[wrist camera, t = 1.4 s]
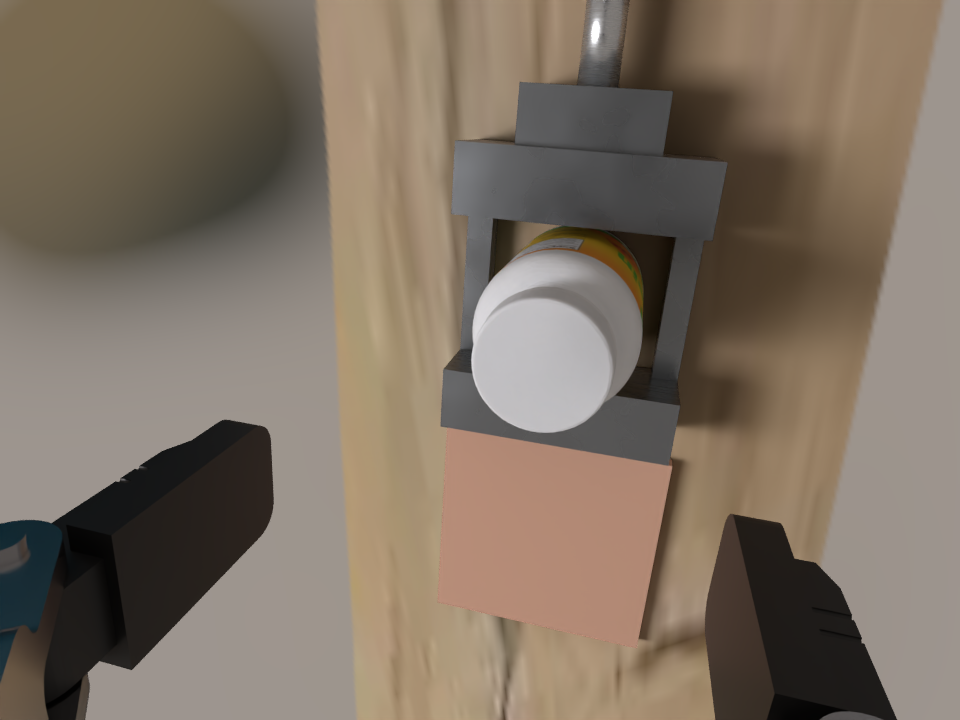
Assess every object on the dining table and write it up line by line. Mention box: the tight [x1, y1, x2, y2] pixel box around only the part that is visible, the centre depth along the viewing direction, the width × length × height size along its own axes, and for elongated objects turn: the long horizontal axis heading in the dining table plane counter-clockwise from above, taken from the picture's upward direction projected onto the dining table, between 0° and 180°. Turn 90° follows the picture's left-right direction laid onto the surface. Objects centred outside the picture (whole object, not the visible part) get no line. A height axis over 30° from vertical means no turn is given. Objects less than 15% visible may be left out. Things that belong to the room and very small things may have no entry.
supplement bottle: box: [471, 226, 644, 433], centre depth 22 cm, size 5×5×10 cm
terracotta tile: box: [438, 428, 672, 648], centre depth 30 cm, size 10×10×1 cm
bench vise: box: [441, 0, 728, 466], centre depth 24 cm, size 18×9×4 cm, turn 176°
